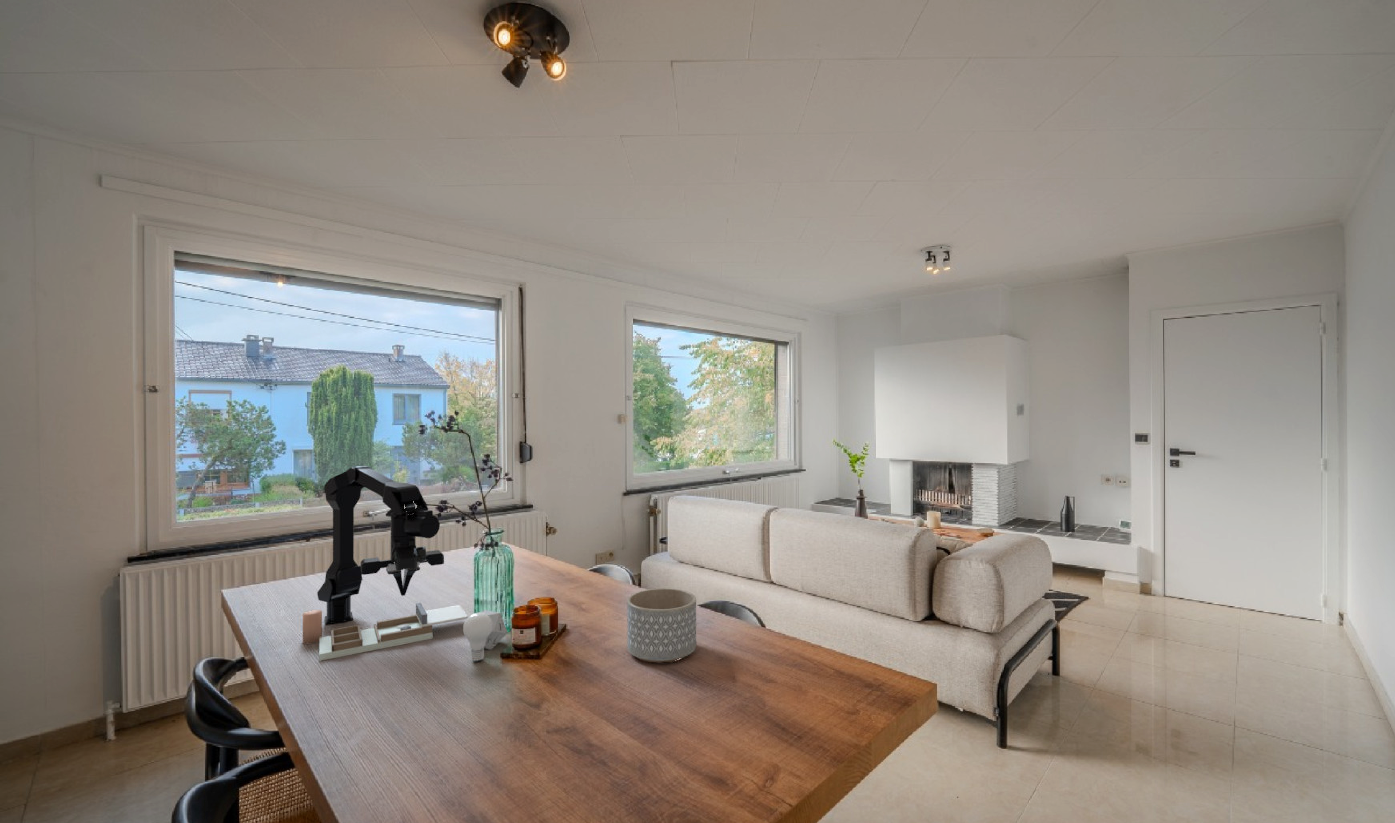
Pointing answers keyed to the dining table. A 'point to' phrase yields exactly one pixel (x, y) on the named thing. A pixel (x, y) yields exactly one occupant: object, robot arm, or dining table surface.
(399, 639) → the board
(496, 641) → the die
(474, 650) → the lightbulb
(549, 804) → the dining table surface
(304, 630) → the tan brown cylinder
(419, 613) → the lid
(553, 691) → the dining table surface
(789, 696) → the dining table surface
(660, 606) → the planter
